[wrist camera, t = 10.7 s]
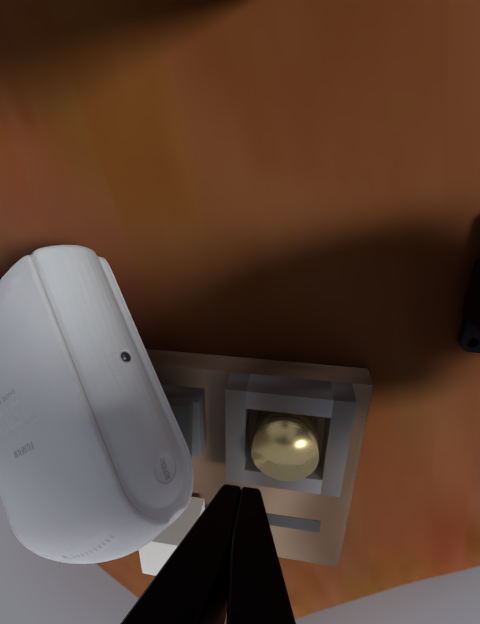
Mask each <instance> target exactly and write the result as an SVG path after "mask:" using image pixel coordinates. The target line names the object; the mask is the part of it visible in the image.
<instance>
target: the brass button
mask: <svg viewBox="0 0 480 624" xmlns="http://www.w3.org/2000/svg"><path fill="white" fill-rule="evenodd" d="M251 455H252V459H253V462H254V464H255V465H256V466H257V468H258V469H259V470H260V471H261V472H263V473H264V474H266V475H267V476H269V477H272V478H274V479H278V480H283V481H295V480H300V479H303V478H305V477H307V476H309V475H310V474H311V473H312V472H313V471H314V470H315V469H316V467H317V465H318V462H319V449H318V433H317V424H316V421H315V419H314V417H313V416H309V415H300V414H290V413H281V412H272V411H263V410H262V411H261V412H260V414H259V415H258V417H257V420H256V426H255V432H254V438H253V444H252V451H251Z"/></svg>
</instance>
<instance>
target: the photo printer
mask: <svg viewBox="0 0 480 624" xmlns="http://www.w3.org/2000/svg"><path fill="white" fill-rule="evenodd" d="M193 481H194V477H193V464H192V459H191V455H190V452H189V449H188V446H187V443H186V441H185V439H184V437H183V434H182V432H181V430H180V428H179V425H178V423H177V421H176V418H175V416H174V414H173V412H172V409H171V407H170V405H169V402H168V400H167V398H166V395H165V393H164V391H163V388H162V386H161V384H160V381H159V379H158V377H157V375H156V372H155V370H154V368H153V365H152V363H151V361H150V358H149V356H148V354H147V351H146V349H145V347H144V345H143V342H142V340H141V338H140V335H139V333H138V331H137V328H136V326H135V324H134V321H133V319H132V317H131V314H130V312H129V310H128V307H127V305H126V303H125V300H124V298H123V295H122V293H121V291H120V288H119V286H118V284H117V281H116V279H115V277H114V274H113V272H112V270H111V268H110V266H109V264H108V262H107V261H106V259H105V258H103V257H99V256H97V255H96V254H95V252H94V251H93V250H91V249H89V248H87V247H83V246H79V245H56V246H47V247H43V248H39V249H37V250H35V251H34V252H33V253H32V254H31V255H27V256H24V257H22V258H21V259H20V260H19V261H18V262H16V263H15V264H14V265H13V266H12V267H11V268H10V269H9V270H8V271H7V273H6V274H5V275H4V276H3V277H2V278H1V280H0V496H1V499H2V503H3V505H4V508H5V511H6V514H7V517H8V520H9V523H10V525H11V528H12V530H13V532H14V534H15V535H16V537H17V538H18V540H19V541H20V542H21V543H22V544H23V545H24V546H25V547H26V548H28V549H29V550H30V551H32V552H34V553H36V554H38V555H40V556H42V557H45V558H48V559H51V560H54V561H59V562H66V563H73V564H91V563H100V562H105V561H110V560H114V559H118V558H121V557H124V556H127V555H129V554H131V553H133V552H135V551H137V550H139V549H141V548H142V547H144V546H145V545H147V544H148V543H149V542H151V541H152V540H153V539H154V538H156V537H157V536H158V535H159V534H160V532H161V531H162V530H164V529H165V528H166V527H168V526H169V525H170V524H172V523H173V522H174V521H175V520H176V519H177V518H178V517H179V516H180V515H181V514H182V513H183V512H184V511H185V509H186V508H187V506H188V505H189V502H190V500H191V495H192V491H193Z"/></svg>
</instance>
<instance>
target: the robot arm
mask: <svg viewBox="0 0 480 624" xmlns="http://www.w3.org/2000/svg"><path fill="white" fill-rule="evenodd" d="M461 313H462V314H463V315H464V318H463V322H462V325H461V329H460V332H459V336H458V343H459V345H460V346H461V347H462V348H463V349H464V350H465V351H468V352H475V353H480V258H478V259H477V260H476V261H475V264H474V268H473V271H472V275H471V278H470V282H469V285H468V289H467V292H466V296H465V300H464V303H463V307H462V310H461ZM471 338H475V340H474V341H473V342H472V343H467V341H468V340H469V339H471ZM226 615H227V624H296V623H295V619H294V615H293V612H292V608H291V604H290V600H289V596H288V593H287V589H286V585H285V581H284V578H283V574H282V570H281V566H280V562H279V559H278V555H277V551H276V547H275V544H274V540H273V536H272V532H271V528H270V525H269V521H268V517H267V513H266V509H265V506H264V502H263V498H262V494H261V491H260V490H259V489H258V488H251V487H243V488H242V490H241V487H240V486H236V485H229V484H224V485H223V486H222V487H221V488H220V489H219V491H218V492H217V493H216V495H215V496H214V497H213V499H212V500H211V502H210V503H209V504H208V506H207V507H206V508H205V510H204V511H203V512H202V514H201V515H200V517H199V518H198V519H197V521H196V522H195V523H194V525H193V526H192V527H191V529H190V530H189V531H188V533H187V534H186V536H185V537H184V538H183V540H182V541H181V542H180V544H179V545H178V546H177V548H176V549H175V550H174V552H173V553H172V555H171V556H170V557H169V559H168V560H167V561H166V563H165V564H164V565H163V567H162V568H161V569H160V571H159V572H158V574H157V575H156V576H155V578H154V579H153V580H152V582H151V583H150V584H149V586H148V587H147V588H146V590H145V591H144V593H143V594H142V595H141V597H140V598H139V599H138V601H137V602H136V603H135V605H134V606H133V608H132V609H131V610H130V612H129V613H128V614H127V616H126V617H125V618H124V620H123V621H122V622H121V624H224V623H225V619H226Z"/></svg>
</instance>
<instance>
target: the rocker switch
mask: <svg viewBox="0 0 480 624" xmlns="http://www.w3.org/2000/svg"><path fill="white" fill-rule="evenodd" d="M166 398H167V400H168V402H169V405H170V407H171V409H172V412H173V414H174V416H175V418H176V421H177V423H178V425H179V428H180V430H181V432H182V434H183V437H184V439H185V441H186V443H187V446H188V449H189V452H190V455H191V459H192V424H193V400H188V399H179V398H169V397H166Z"/></svg>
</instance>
